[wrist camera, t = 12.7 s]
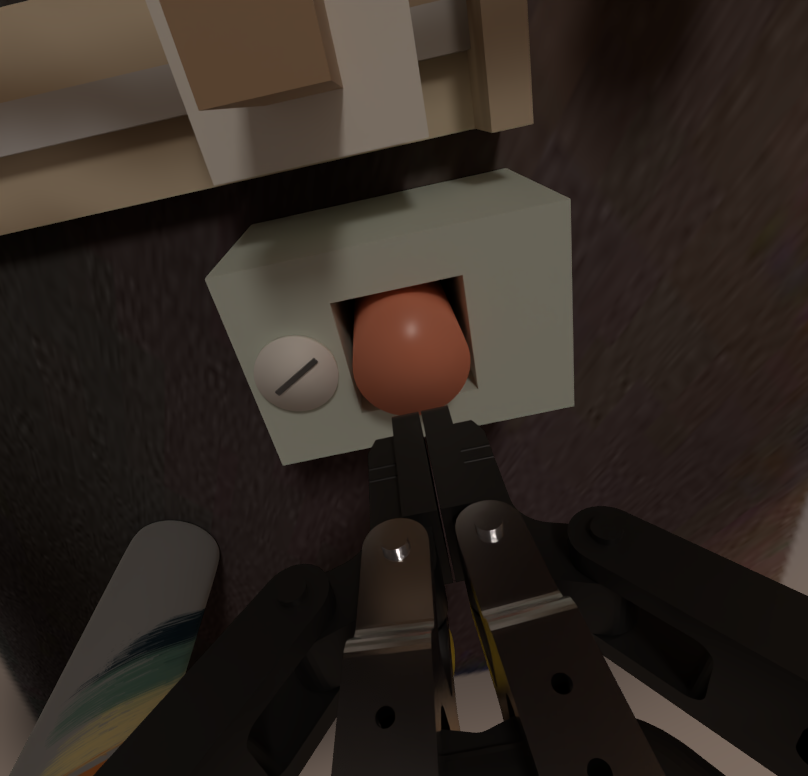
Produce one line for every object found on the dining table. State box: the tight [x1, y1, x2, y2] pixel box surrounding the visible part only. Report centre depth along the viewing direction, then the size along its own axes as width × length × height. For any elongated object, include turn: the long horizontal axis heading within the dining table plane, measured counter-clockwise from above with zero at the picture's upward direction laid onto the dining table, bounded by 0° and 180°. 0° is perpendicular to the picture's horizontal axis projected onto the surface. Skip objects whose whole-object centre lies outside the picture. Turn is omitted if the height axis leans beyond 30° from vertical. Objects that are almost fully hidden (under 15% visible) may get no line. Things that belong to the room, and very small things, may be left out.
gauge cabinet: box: [205, 168, 574, 465], centre depth 21 cm, size 8×12×8 cm, turn 101°
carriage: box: [145, 0, 429, 186], centre depth 13 cm, size 6×7×11 cm
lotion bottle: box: [9, 520, 219, 776], centre depth 24 cm, size 6×6×20 cm
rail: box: [0, 0, 533, 235], centre depth 18 cm, size 7×25×4 cm, turn 101°
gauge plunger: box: [353, 280, 471, 415], centre depth 19 cm, size 4×4×6 cm
